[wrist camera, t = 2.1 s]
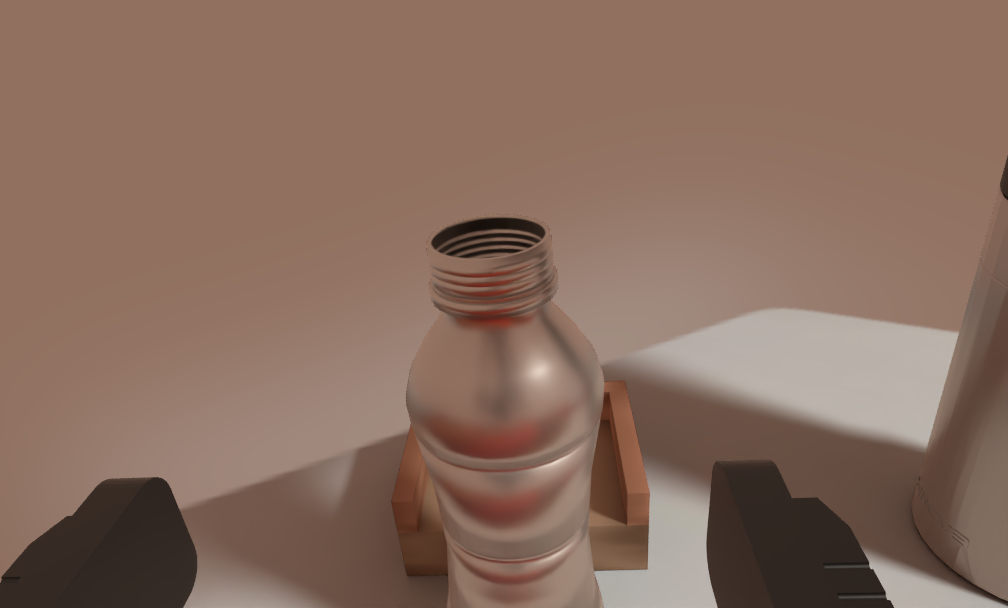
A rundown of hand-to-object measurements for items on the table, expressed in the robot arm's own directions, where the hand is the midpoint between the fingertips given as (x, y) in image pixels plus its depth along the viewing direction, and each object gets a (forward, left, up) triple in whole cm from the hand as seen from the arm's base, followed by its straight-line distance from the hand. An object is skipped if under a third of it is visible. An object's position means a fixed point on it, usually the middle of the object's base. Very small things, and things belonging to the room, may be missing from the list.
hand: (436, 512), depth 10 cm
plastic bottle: (0, -11, -20) cm, 23 cm away
